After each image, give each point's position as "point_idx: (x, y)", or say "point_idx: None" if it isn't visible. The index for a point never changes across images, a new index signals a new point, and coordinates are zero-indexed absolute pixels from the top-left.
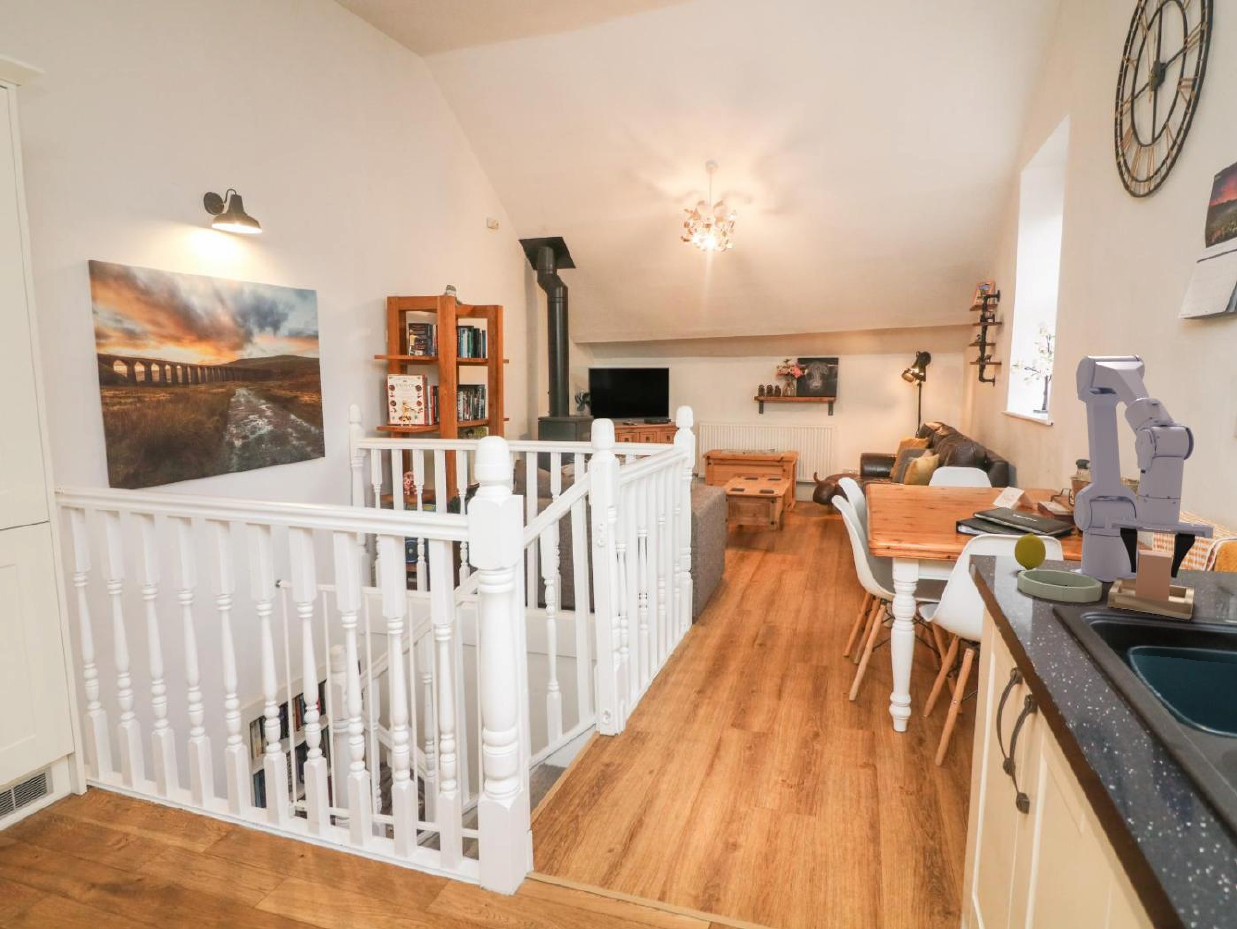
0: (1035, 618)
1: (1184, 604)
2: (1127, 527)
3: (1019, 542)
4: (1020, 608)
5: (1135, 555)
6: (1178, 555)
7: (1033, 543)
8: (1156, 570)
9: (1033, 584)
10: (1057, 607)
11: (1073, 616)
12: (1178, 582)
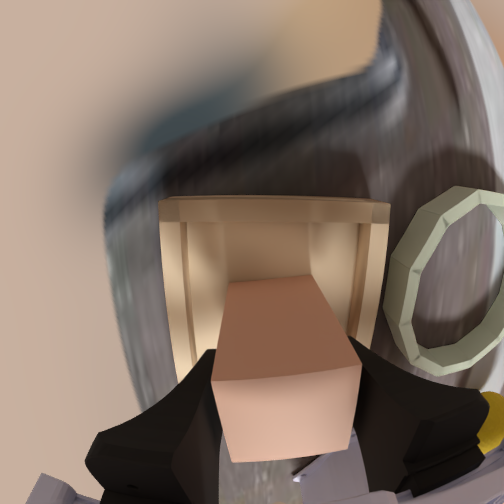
0: (452, 16)
1: (177, 200)
2: (453, 485)
3: None
4: (490, 75)
5: (370, 370)
6: (184, 402)
7: (502, 424)
8: (272, 332)
9: None
10: (454, 119)
11: (415, 55)
12: (234, 484)
